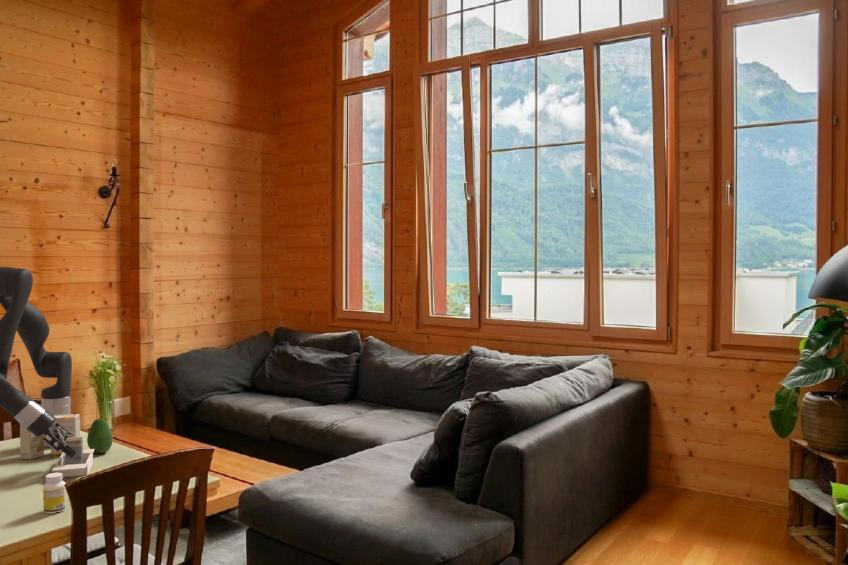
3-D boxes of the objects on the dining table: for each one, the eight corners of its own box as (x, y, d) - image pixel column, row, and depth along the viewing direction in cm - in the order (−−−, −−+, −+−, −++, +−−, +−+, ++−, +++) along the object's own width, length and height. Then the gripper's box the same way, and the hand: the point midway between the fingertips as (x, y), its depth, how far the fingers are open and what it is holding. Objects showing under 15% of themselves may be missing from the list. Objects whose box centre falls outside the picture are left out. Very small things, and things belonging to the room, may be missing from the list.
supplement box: (81, 451, 244) (80, 413, 243) (76, 455, 239) (75, 417, 239) (56, 451, 243) (55, 414, 242) (50, 455, 238) (49, 417, 238)
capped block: (67, 468, 224) (67, 437, 224) (83, 467, 226) (82, 436, 225) (65, 472, 221) (64, 441, 220) (81, 471, 222) (80, 440, 222)
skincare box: (31, 459, 233) (30, 423, 233) (19, 459, 234) (18, 422, 234) (45, 454, 240) (44, 418, 239) (34, 453, 241) (33, 418, 240)
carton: (63, 461, 232) (63, 451, 232) (94, 459, 235) (94, 448, 235) (51, 481, 212) (51, 470, 212) (85, 479, 215) (85, 467, 215)
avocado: (99, 449, 247) (99, 415, 246) (117, 451, 244) (117, 417, 244) (81, 455, 239) (81, 420, 239) (100, 457, 237) (99, 422, 236)
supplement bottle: (48, 507, 191) (48, 471, 191) (69, 506, 192) (69, 471, 191) (39, 514, 186) (39, 478, 185) (61, 514, 186) (60, 477, 186)
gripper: (39, 414, 213) (82, 448, 217) (48, 404, 227) (88, 437, 231) (20, 433, 212) (63, 467, 216) (30, 421, 225) (70, 454, 229)
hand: (76, 451), depth 223 cm, fingers open, 8 cm apart
